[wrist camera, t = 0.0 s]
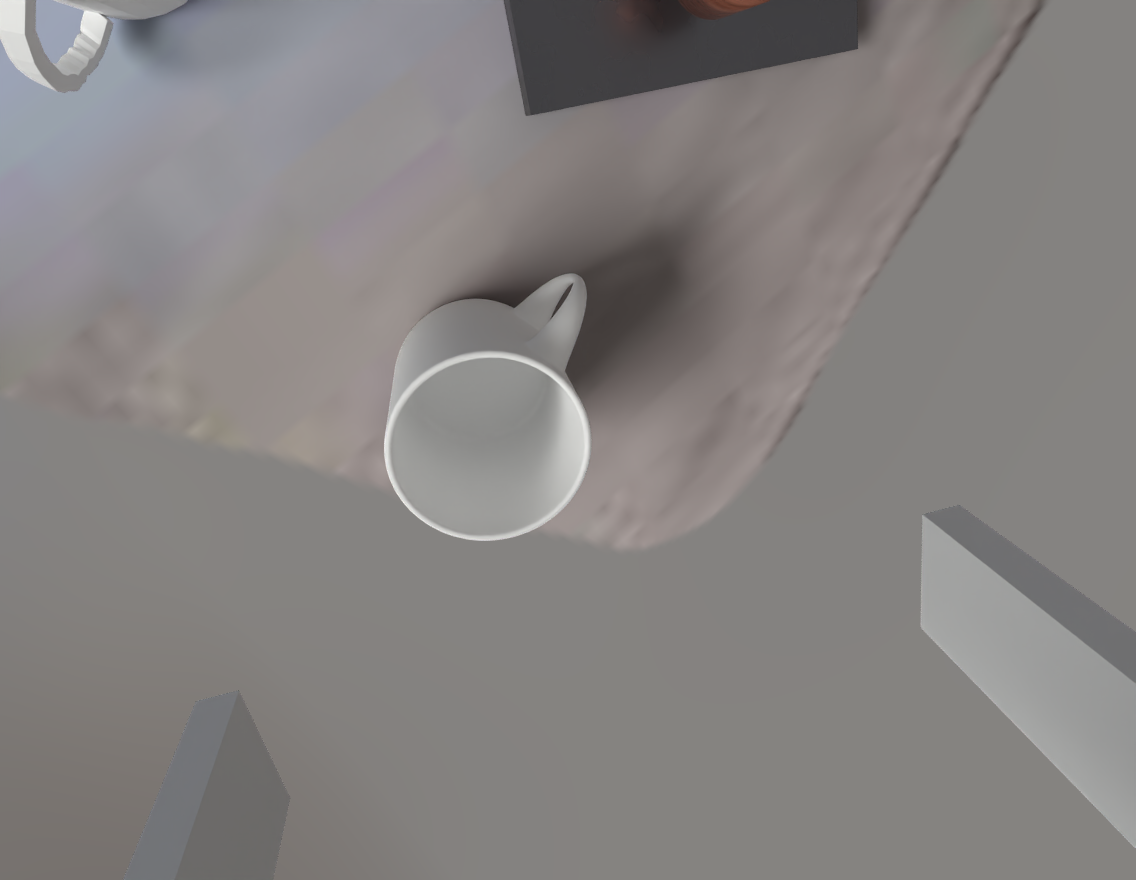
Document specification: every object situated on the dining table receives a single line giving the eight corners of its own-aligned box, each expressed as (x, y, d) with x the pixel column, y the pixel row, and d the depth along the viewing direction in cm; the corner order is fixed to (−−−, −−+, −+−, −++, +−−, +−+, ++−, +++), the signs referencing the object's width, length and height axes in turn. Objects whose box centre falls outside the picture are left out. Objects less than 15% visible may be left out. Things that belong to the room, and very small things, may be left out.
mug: (624, 307, 41) (685, 365, 31) (492, 472, 43) (510, 574, 33) (497, 206, 38) (520, 234, 28) (363, 390, 40) (341, 476, 30)
